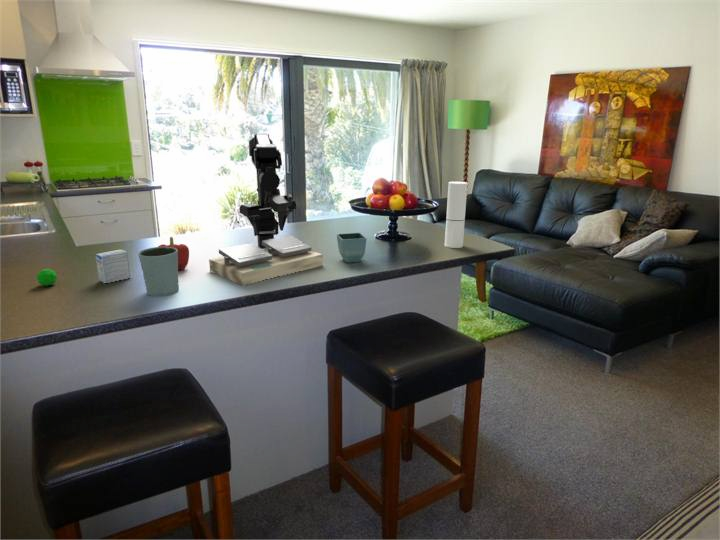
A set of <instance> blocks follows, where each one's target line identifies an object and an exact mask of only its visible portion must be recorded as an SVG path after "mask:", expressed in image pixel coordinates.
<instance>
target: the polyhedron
mask: <svg viewBox="0 0 720 540" xmlns="http://www.w3.org/2000/svg"><path fill="white" fill-rule="evenodd" d="M36 280H37V281H38V284H40V285H42V286H44V287H50V286H49V285H51V286H52V285H54V284H55V283H56V282H57V281H58V275H57V273H56V272H55V271H54V270H52V269H49V268H45V269H42V270H41V271H39V272H38V273H37V275H36Z"/></svg>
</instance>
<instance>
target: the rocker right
mask: <svg viewBox="0 0 720 540" xmlns="http://www.w3.org/2000/svg"><path fill="white" fill-rule="evenodd" d="M303 242H304V241H302V242H301V240H299V239H298V238H296V237H294V236H292V235H286V236H280V237H274V239H269V240H263V241H262V245H263V246H265V247H266V248H272V250H273V252H274V253H276V254H278V255H279V256H281V257H287V256H291V255H296V254H300V253H305V252H309V251H312V246H310V245H309V244H307V243H305V242H304V243H303Z"/></svg>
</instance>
